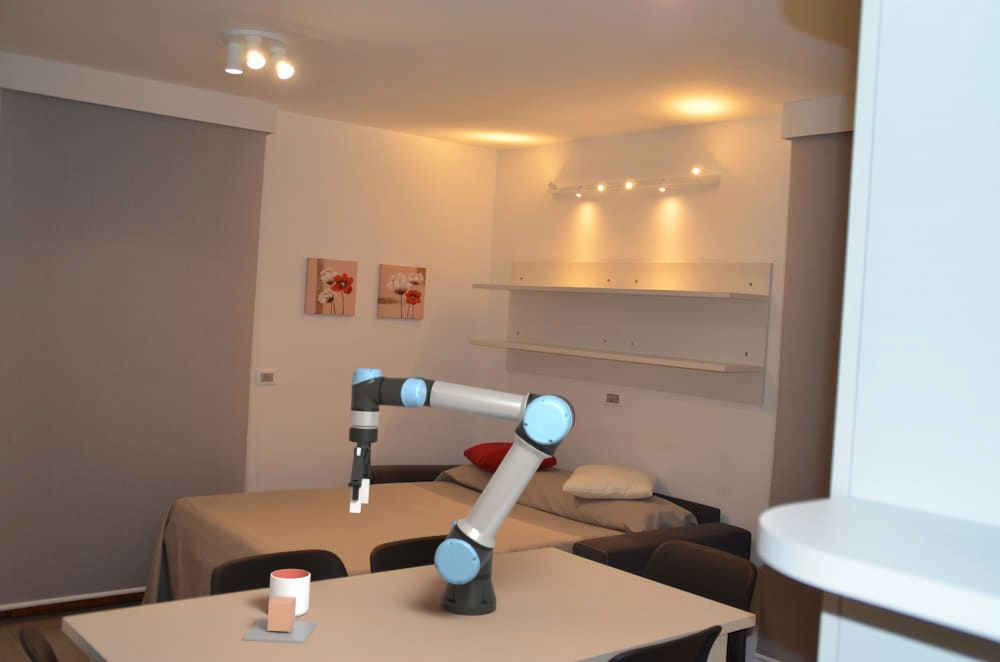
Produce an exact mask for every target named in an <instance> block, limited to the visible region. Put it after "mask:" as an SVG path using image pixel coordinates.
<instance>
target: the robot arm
mask: <svg viewBox="0 0 1000 662" xmlns="http://www.w3.org/2000/svg"><path fill="white" fill-rule="evenodd" d="M350 386H351V393H350V394H351V396H350V398H351V401H350V412H349V413H348V414H347V417H349V418H350V420H349V425H351V426H350V428H348V429H349V430H348V432H349V433H348V442H349V441H350V442H351V443H356V447H354V449H353V457H352V458H353V460H352V466H351V475H350V481H349V482H348V485H347V487H348V488H350V500H349V513H354V514H360V513H361V511H362V510H361V509H362V504H369V500H370V499H369V498H370V481H371V480H370V479H373V474H372V454H371V453H372V444H373V443H377V442H378V438H379V429H378V428H377V427H378V426H380V425H379V424H380V406H387V407H401V408H408V409H413V408H414V409H415V408H418V409H420V408H422V407H427V408H434V409H439V410H445V411H451V412H456V413H460V414H467V415H472V416H477V417H483V418H489V419H494V420H500V421H504V422H510V423H515V424H517V426H516V428H515V430H514V431H513V434H514V442H513V444H512V445H511V447H509V448H510V449H509V450H508V451H507V453H506V455H505V456H504V458H503V460H502V461H501V463H500V464H499V466H498V467H497V469H496V471H495V472H494V473H493V474H492V477H491V478H490V480H489V481H488V483H487V485H485V486H486V487H484V489H483V491H482V492H481V494H480V495H479V497H478V499H477V500H476V502H475V503H474V505H473V506H472V507H471V509H470V511H469V513H468V514H467V516H466V517H465V518H460V519H457V520H455V521H452V523H451V528H450V532H449V533H448V534H447V536H446V538H445V540H444V541H442V542H441V543H440V544H439V545H438V546H437V548H436V551H435V554H434V559H433V560H434V566H435V570H436V572H437V574H438V575H439V576H440V578H441V579H442V580H444V581H445V582H446V583H445V587H444V589H443V592H442V594H441V596H440V597H441V598H440V607H441V608H442V609H443V610H445V611H447V612H450V613H453V614H456V615H457V614H458V615H466V616H468V615H469V616H471V615H472V616H476V615H485V614H490V613H493V612H494V611H496V609H497V595H496V592H495V589H494V583H493V579H492V575H493V574H492V571H493V558H494V557H493V556H494V554H493V553H494V549H495V547H496V540H495V536H496V535H497V533H498V531H499V530H500V528H501V526H502V525H503V523H504V522H505V520H506V519H507V517H508V515H509V514H510V512H511V511H512V510H513V508H514V506H515V505H516V503H517V502H518V500H519V498H520V497H521V495H522V494H523V492H524V491H525V489H526V487H528V484H529V483H530V481H531V480H532V478H533V476H534V475H535V473H536V472H537V470H538V469H539V468H540V466H541V464H542V462H543V461H544V460H545V459H549V458H553V456H554V455H555V454H556V452H557V450H558V449H559V447H560V445H561V444H562V443H563V441H564V439H565V438H566V437H567V435H568V434H569V433H570V432H571V431H572V429H574V425H575V422H576V412H575V407H574V406H573V404H572V403H571V402H570V400H569V399H567V398H566V397H564V396H563V395H560V394H543V393H542V394H541V393H540V394H539V393H532V392H528V393H527V394H525V395H523V394H516V393H510V392H504V391H500V390H493V389H487V388H483V387H475V386H470V385H466V384H465V385H464V384H459V383H452V382H448V381H447V382H446V381H442V380H441V381H440V380H434V379H429V378H426V377H424V376H413V377H412V376H411V377H387V376H383V374H382V370H381V369H379V368H370V367H369V368H367V367H366V368H365V367H361V368H360V367H358V368H355V369H354V370H353V373H352V382H351V385H350Z"/></svg>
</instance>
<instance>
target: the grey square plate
mask: <svg viewBox="0 0 1000 662" xmlns="http://www.w3.org/2000/svg"><path fill="white" fill-rule="evenodd" d="M317 624H318V622H317V621H304V620H303V621H301V620H295V624H294V626H293V627H292V629H291V630H290V632H286V631H267V628H268V618H265V619H263V618H259V620H257V622H256V623H255V624H254V625H253V627H252V628H251V629H250V630H249V631H247V634H246V635H245V636H244V637H243V641H256V642H270V643H271V642H272V643H274V642H275V643H293V644H295V643H296V644H305V642H306V641H307V639H308V638H309V637H310V635H311V633H312V632H313V630H314V629H315V627H316V626H317Z"/></svg>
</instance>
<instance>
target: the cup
mask: <svg viewBox="0 0 1000 662" xmlns="http://www.w3.org/2000/svg"><path fill="white" fill-rule="evenodd" d="M311 574H312V573H310V572H309V571H307V570H304V569H297V568H287V569H285V568H283V569H278V570H274V571H273V572H271V573H270V576H269V577H270V578H269V596H268V597H269V598H268V603H269V602H270V601H271V600H272V599H273V597H274V596H281V597H296V607H295V618H297V617H298V618H299V617H301V616H303V615H306V614H307V613H308V611H309V608H310V605H309V604H310V591H311V589H310V588H311Z"/></svg>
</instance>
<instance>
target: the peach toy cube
mask: <svg viewBox="0 0 1000 662" xmlns="http://www.w3.org/2000/svg"><path fill="white" fill-rule="evenodd" d="M295 607H296V597H281V596H274V597H273V599H272V600H271V601H270V602H269V601H268V612H267V613H268V614H267V616H268V617H267V619H268V628H267V631H286V632H290V630H291V629H292V627H293V626H294V624H295V621H296V617H295Z"/></svg>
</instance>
